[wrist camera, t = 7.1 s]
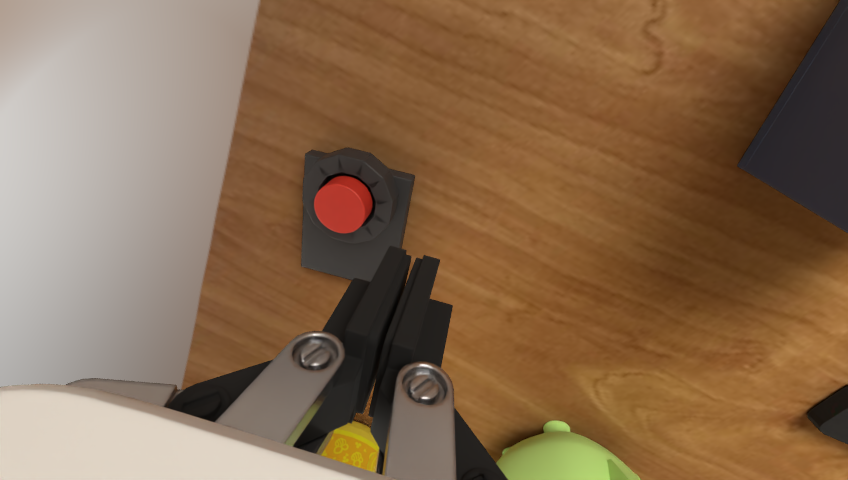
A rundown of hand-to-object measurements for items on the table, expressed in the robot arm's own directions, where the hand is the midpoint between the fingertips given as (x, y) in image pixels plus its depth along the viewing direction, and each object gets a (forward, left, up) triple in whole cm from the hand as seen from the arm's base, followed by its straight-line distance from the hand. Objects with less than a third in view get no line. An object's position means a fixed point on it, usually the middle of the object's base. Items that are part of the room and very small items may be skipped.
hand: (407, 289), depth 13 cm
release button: (+5, -7, -14) cm, 16 cm away
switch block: (+8, -7, -17) cm, 20 cm away
